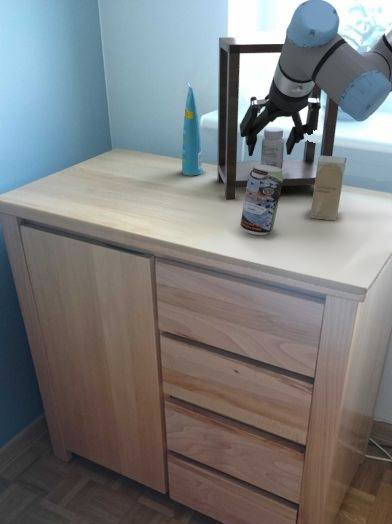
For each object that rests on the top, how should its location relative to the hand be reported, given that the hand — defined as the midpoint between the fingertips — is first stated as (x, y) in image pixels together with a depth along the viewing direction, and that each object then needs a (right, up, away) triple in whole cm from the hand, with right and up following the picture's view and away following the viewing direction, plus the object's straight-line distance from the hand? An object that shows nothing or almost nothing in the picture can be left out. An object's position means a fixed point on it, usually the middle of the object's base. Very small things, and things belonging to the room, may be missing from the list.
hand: (269, 149), depth 123 cm
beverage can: (-4, -23, -20) cm, 30 cm away
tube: (-17, -2, +11) cm, 20 cm away
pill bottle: (0, -5, -1) cm, 5 cm away
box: (+9, -18, -13) cm, 24 cm away
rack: (0, -8, +1) cm, 8 cm away
